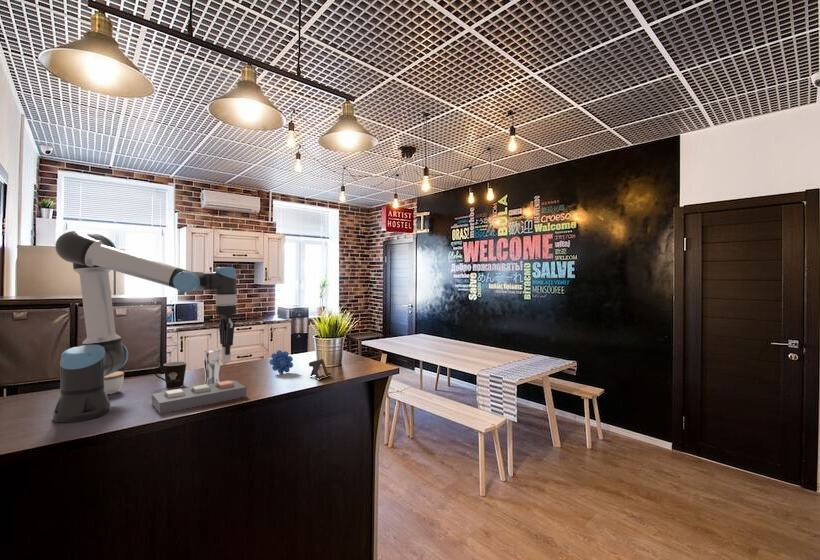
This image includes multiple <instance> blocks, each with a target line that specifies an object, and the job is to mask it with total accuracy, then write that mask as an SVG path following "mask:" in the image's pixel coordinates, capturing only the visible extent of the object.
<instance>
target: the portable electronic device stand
mask: <svg viewBox="0 0 820 560" xmlns="http://www.w3.org/2000/svg"><path fill="white" fill-rule="evenodd" d="M308 366H309V367H310V368H311V367H312V370H311V372H310V375H309V377H310V376H312V375H313V376H314V375H316V376H315V379H316V378H319V379H320V378H322V377H325V375H326V376H328V375H331V376H332V372H328V368H327V366H326V363H325V361H324V359H323V358H320V359H316V360H313V361H310V362H309V363H308ZM320 366H322V369H323V373H324V374H322V375H320V374H319V369H320ZM313 376H312V377H313Z"/></svg>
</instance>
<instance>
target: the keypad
mask: <svg viewBox="0 0 820 560" xmlns="http://www.w3.org/2000/svg"><path fill="white" fill-rule="evenodd" d="M230 381H231V382H233V383H234V387H229V388H223V389H219V388H217V383H214V384H208V386H209V387H210V391H206V392H201V393H195V394H194V393H193V392H192V387H193V386H191V387H186V388H180V389H181V390H183V391H184V396H179V397H173V398H166V397H165V391H161V392H154V393H151V406H152V407H153V406H154V407H153V409H155V410H156V412H157V411H158V412H157V413H158V414H159V415H163V413H164V414H168V413H167V412H169V413H172V412H171V411H174V412H178V411H177V410H179V411H182V409H184V410H188V409H187V408H189V409H193V408H192V407H194V408H198V407H197V406H199V407H203V406H202V405H204V406H209V405H212V404H218V403H223V402H227V400H228V401H232V399H233V400H237V398H238V399H241V398H240V397H243V398H246V397H247V386H246V385H243V384H242V383H240V382H239V381H237V380H234V379H231V380H230ZM245 396H246V397H245ZM222 401H223V402H222ZM208 404H209V405H208Z"/></svg>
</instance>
